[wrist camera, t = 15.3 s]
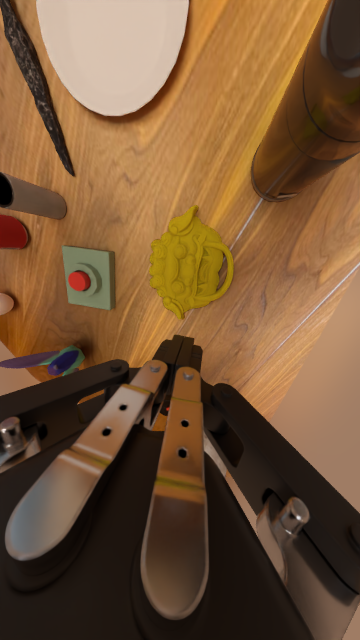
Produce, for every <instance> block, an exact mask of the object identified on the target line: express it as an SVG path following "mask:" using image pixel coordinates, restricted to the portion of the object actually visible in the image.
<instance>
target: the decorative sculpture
mask: <svg viewBox="0 0 360 640" xmlns="http://www.w3.org/2000/svg"><path fill="white" fill-rule="evenodd" d="M84 359H85V356H84V354H83V353H82V351H81V350H80V349H78V348H77V347H75V346H73V345H71V346H69V347H67V348H65V349H63V350H61V351H60V352H59V351H52V352H44V353H39V354H34V355H28V356H23V357H18V358H13V359H9V360H5V361H2V362H0V366H1V367H5V368H26V367H33V366H40V365H46V364H50V363H51V364H50V365H49V367H48V368H47V369H48V373H49V374H51V375H55V376H56V375H59V374H61V373H62V372H64V371H65V372H64V374H63V375H62V376H64V375H67V374H71V373H74V372H77V371H78V370H79V369H78V368H76V367H79V366H80V365H81V363H82V362H83V360H84ZM73 368H74V369H73Z"/></svg>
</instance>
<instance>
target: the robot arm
mask: <svg viewBox="0 0 360 640" xmlns="http://www.w3.org/2000/svg"><path fill="white" fill-rule="evenodd" d="M359 152H360V0H328V1H327V3H326V5H325V8H324V10H323V12H322V14H321V16H320V18H319V21H318V23H317V25H316V27H315V29H314V32H313V34H312V36H311V38H310V40H309V42H308V44H307V46H306V49H305V51H304V53H303V55H302V57H301V59H300V61H299V63H298V66H297V68H296V70H295V72H294V74H293V77H292V79H291V81H290V83H289V85H288V87H287V89H286V91H285V94H284V96H283V98H282V100H281V102H280V104H279V106H278V108H277V110H276V113H275V115H274V117H273V119H272V121H271V123H270V125H269V127H268V129H267V132H266V134H265V136H264V138H263V140H262V142H261V144H260V145H259V147H258V149H257V151H256V153H255V155H254V158H253V161H252V166H251V180H252V184H253V187H254V189H255V191H256V192H257V193H258V195H259V196H261V197H262V198H263V199H265V200H268V201H271V202H281V201H285V200H288V199H290V198H292V197H294V196H296V195H297V194H298V193H300V192H301V191H302V190H303V189H305V188H306V187H308V186H309V185H311V184H312V183H314V182H315V181H317V180H319V179H320V178H322V177H323V176H325V175H326V174H328V173H329V172H331V171H332V170H334V169H335V168H337V167H338V166H340V165H341V164H343V163H344V162H346V161H347V160H349V159H350V158H352V157H353V156H355V155H356V154H358V153H359ZM193 344H194V338H190V337H185V338H184V336H180V335H174V337H173V339H172V340H167V339H166V340H165V341H163V342H162V343H161V345H160V347H159V348H158V350H157V352H156V353H155V355H154V357H153V359H152V360H150V361H147V362H146V363H145V364H144V365H143V366H142V367H140V368H129V364H128V363H127V362H126V361H124V360H120V359H116V360H111V361H108V362H105V363H102V364H99V365H95V366H92V367H89V368H86V369H83V370H80V371H77V372H74V373H71V374H67V375H64V376H61V377H58V378H55V379H52V380H49V381H46V382H43V383H40V384H37V385H34V386H30V387H27V388H24V389H21V390H18V391H15V392H12V393H9V394H6V395H2V396H0V640H342V638H343V636H344V634H345V632H346V630H347V628H348V626H349V624H350V622H351V620H352V618H353V616H354V613H355V611H356V609H357V607H358V606H359V605H360V513H359V512H358V511H357V510H356V509H354V507H353V506H352V505H351V504H350V503H349V502H348V501H347V500H346V499H344V497H343V496H342V495H341V494H340V493H339V492H337V490H335V488H334V487H333V486H332V485H331V484H330V483H329V482H328V481H327V480H326V479H325V478H324V477H323V476H322V475H321V474H320V473H319V472H318V471H317V470H316V469H315V468H314V467H313V466H312V465H311V464H310V463H309V462H308V461H307V460H306V459H305V458H304V457H303V456H301V454H300V453H299V452H298V451H297V450H296V449H295V448H294V447H293V446H292V445H291V444H290V443H289V442H288V441H287V440H286V439H285V438H284V437H283V436H282V435H281V434H280V433H279V432H278V431H277V430H276V429H275V428H274V427H273V426H272V425H271V424H270V423H269V422H268V421H267V420H266V419H265V418H264V417H263V416H262V415H261V414H260V413H259V412H258V411H257V410H256V409H255V408H254V407H253V406H252V405H251V404H250V403H249V402H248V401H247V400H246V399H245V398H244V397H243V396H242V395H241V394H240V393H239V392H238V391H237V390H236V389H235V388H233V387H232V386H230V385H228V384H224V383H218V384H216V385H214V386H212V385H210V384H208V383H206V382H205V381H204V380H203V379H202V378H201V376H200V370H201V361H202V352H203V350H202V348H201V347H200V346H197V345H193ZM103 389H104V394H101V395H99V396H97V397H94V398H92V399H90V400H87V401H85V402H83V403H80V404H78V402H79V401H80V400H81V399H82V398H84V397H86V396H89V395H91V394H93V393H96V392H98V391H101V390H103ZM171 390H172V392H171ZM170 393H171V395H172V397H171V401H170V406H169V411H168V417H167V422H166V427H165V431H152V428H153V426H154V424H155V421H156V419H157V417H158V414H159V412H160V410H161V407H162V405H163V400H164V398H165V395H166V394H168V395H170ZM77 404H78V405H77ZM204 433H205V435H206V436H207V438H208V439H209V441H210V443H211V444H212V446H213V447H214V449H215V450H216V452H217V454H218V455H219V457H220V458H221V460H222V462H223V463H224V465H225V466H226V468H227V469H228V471H229V473H230V474H231V476H232V477H233V479H234V480H235V482H236V484H237V485H238V487H239V488H240V490H241V492H242V493H243V495H244V496H245V498H246V500H247V501H248V503H249V504H250V506H251V508H252V509H253V511H254V512H255V514H256V515H257V520H256V528H257V533H258V537H259V538H258V537H257V535H256V533H255V531H254V529H253V528H252V526H251V524H250V522H249V520H248V519H247V517H246V515H245V513H244V512H243V510H242V508H241V506H240V504H239V503H238V501H237V499H236V497H235V496H234V494H233V492H232V490H231V489H230V487H229V485H228V483H227V481H226V480H225V478H224V476H223V474H222V472H221V471H220V469H219V467H218V466H217V464H216V463H215V462H214V460H213V459H212V458H211V457H210V456H209V455H208V454H207V453H206V452H205V451H204Z"/></svg>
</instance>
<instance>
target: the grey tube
mask: <svg viewBox="0 0 360 640" xmlns="http://www.w3.org/2000/svg"><path fill="white" fill-rule="evenodd" d="M0 207H2V208H6V209H11V210H16V211H20V212H25V213H30V214H35V215H39V216H44V217H49V218H54V219H61V218H63V217H64V216H65V214H66V204H65V201H64V199H63V198H62V197H61V196H60V195H59V194H57V193H55V192H52V191H50V190H47V189H45V188H42V187H39V186H37V185H34V184H31V183H29V182H26V181H23V180H21V179H18V178H16V177H13V176H10V175H8V174H5V173H2V172H0Z"/></svg>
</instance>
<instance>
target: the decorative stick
mask: <svg viewBox="0 0 360 640" xmlns="http://www.w3.org/2000/svg"><path fill="white" fill-rule="evenodd" d="M0 7H1V11H2V15H3V21H4V29H5V31H4V32H5V36H6V38H7V40H8V42H9V44H10V47H11V49H12V51H13V53H14V55H15V59H16V62H17V63H18V65H19V68H20V70H21V72H22V74H23V76H24V78H25V80H26V82H27V83H28V86H29V88H30V90H31V92H32V94H33V96H34V100H35V104H36V107H37V109H38V111H39V113H40V115H41V117H42V119H43V121H44V124H45V126H46V129H47V131H48V132H49V134H50V136H51V139H52V141H53V143H54V145H55V149H56V151H57V153H58V155H59V157H60V159H61V161H62V163H63V165H64V167H65V169H66V170H67V171H68V172H69V173H70V174H71V175H72V176H74V172H73V170H72V166H71V162H70V160H69V157H68V154H67V151H66V147H65V145H64V139H63V135H62V132H61V129H60V127H59V124H58V121H57V118H56V115H55V113H54V111H53V107H52V103H51V100H50V97H49V94H48V87H47V83H46V80H45V77H44V75H43V73H42V71H41V68H40V65H39V62H38V60H37V57H36V52H35V49H34V47H33V45H32V43H31V41H30V39H29V37H28V35H27V33H26V32H25V30H24V28H23V27H22V25H21V24H20V22H19V21H18V20H17V18H16V15H15V12H14V9H13V7H12V5H11V3H10V0H0Z"/></svg>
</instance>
